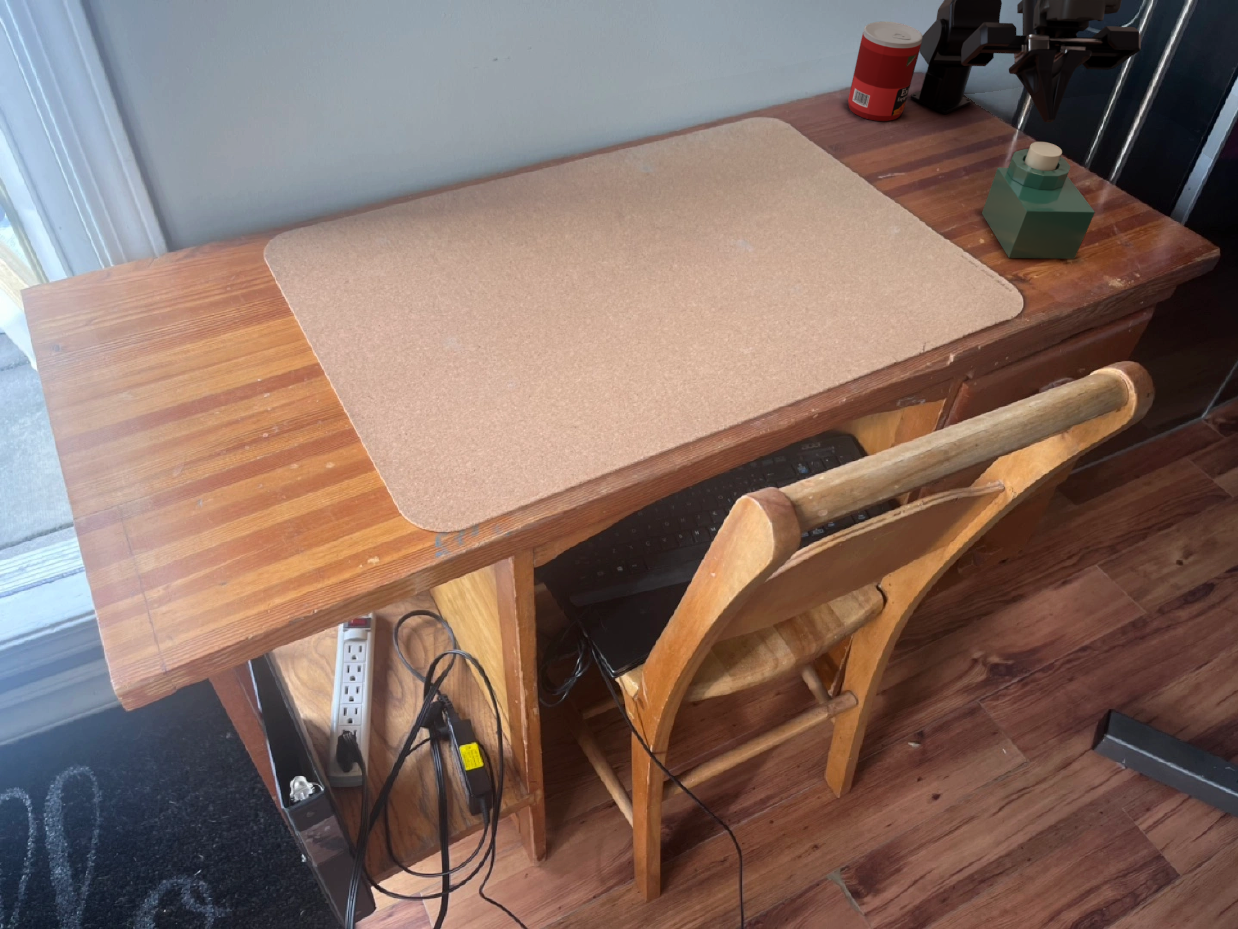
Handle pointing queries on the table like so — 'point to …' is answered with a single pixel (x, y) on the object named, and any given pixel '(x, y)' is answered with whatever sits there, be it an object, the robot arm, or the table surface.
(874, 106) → the canned food
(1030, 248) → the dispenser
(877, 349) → the table surface
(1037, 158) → the cream push button
